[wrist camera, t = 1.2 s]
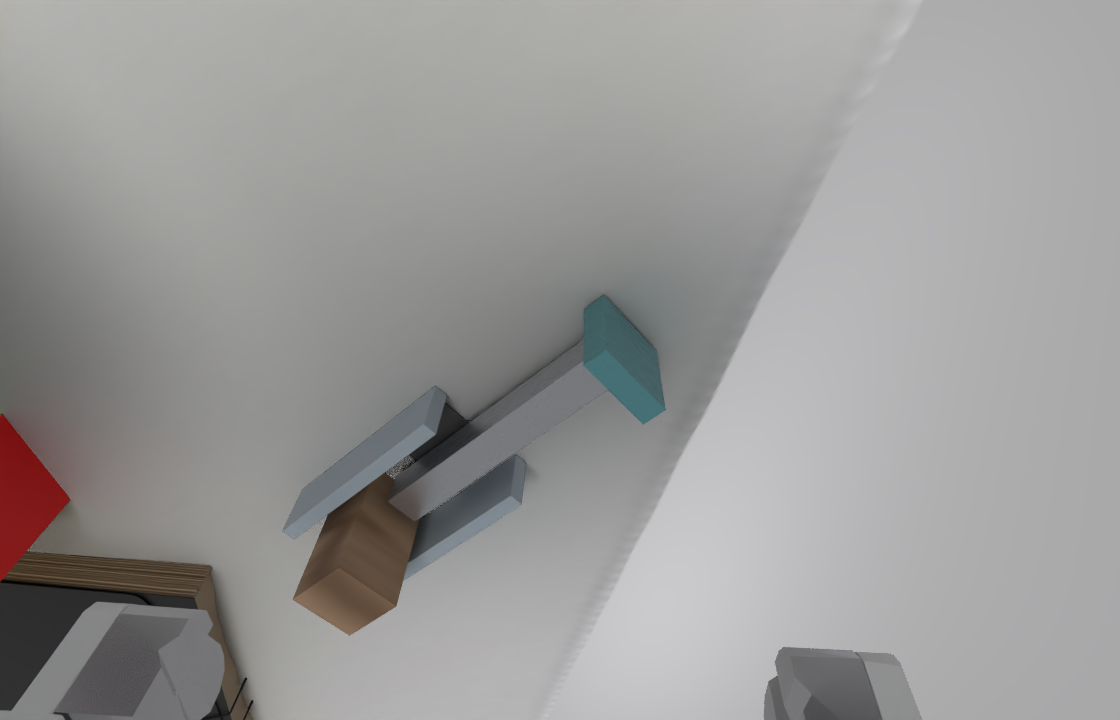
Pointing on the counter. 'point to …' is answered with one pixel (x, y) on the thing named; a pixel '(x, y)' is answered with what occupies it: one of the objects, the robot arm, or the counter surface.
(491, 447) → the teal headed mallet
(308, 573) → the walnut block
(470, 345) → the counter surface
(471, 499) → the channel
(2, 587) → the black book
